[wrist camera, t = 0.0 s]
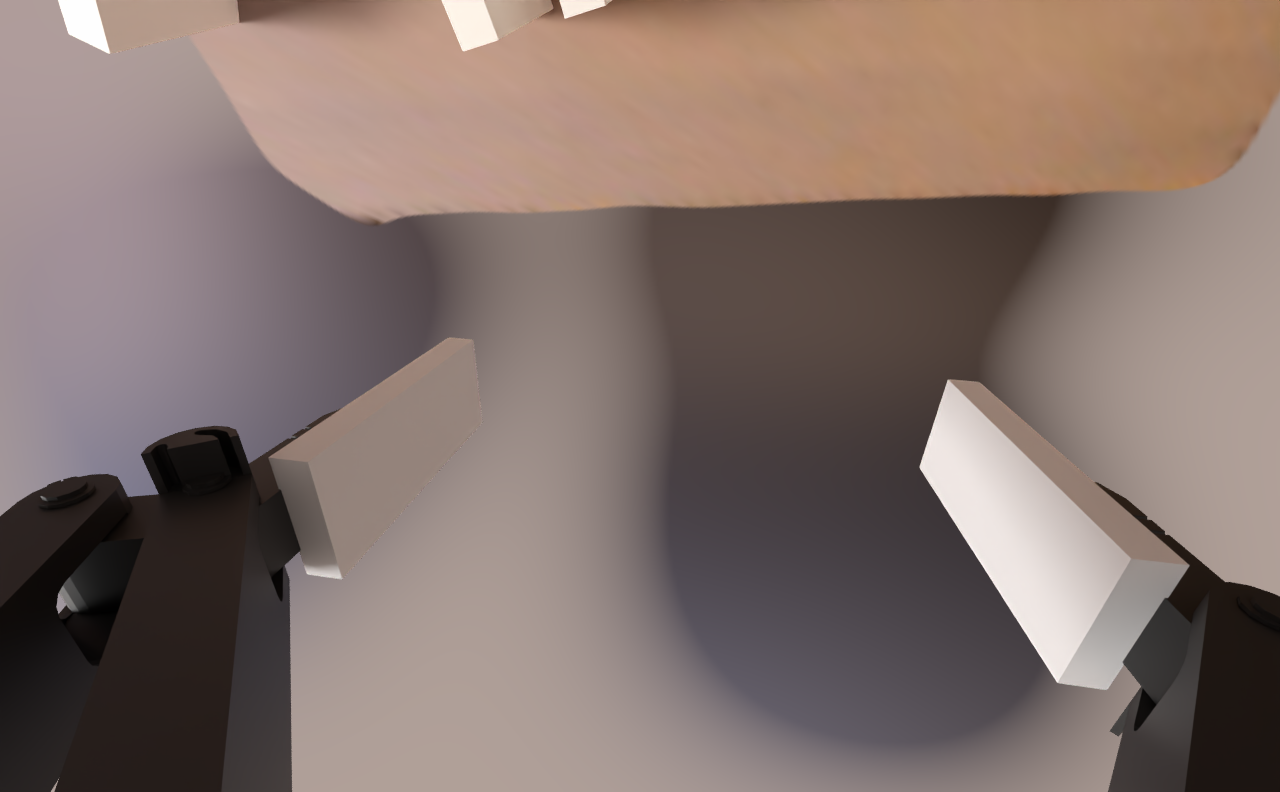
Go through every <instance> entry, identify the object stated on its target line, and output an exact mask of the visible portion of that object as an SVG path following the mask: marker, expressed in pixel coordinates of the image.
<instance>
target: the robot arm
mask: <svg viewBox="0 0 1280 792" xmlns="http://www.w3.org/2000/svg"><path fill="white" fill-rule="evenodd" d="M482 423H483V422H482V413H481V404H480V395H479V386H478V377H477V368H476V359H475V350H474V341H473V340H471V339H459V338H447V339H446V340H444V341H443V342H441V343H440V344H438V345H437V346H435V347H434V348H432V349H431V350H429V351H428V352H426V353H425V354H423V355H422V356H420V357H419V358H417V359H416V360H414V361H413V362H411V363H410V364H408V365H407V366H405V367H404V368H402V369H401V370H399V371H398V372H396V373H395V374H393V375H392V376H390V377H389V378H387V379H386V380H384V381H383V382H381V383H380V384H378V385H377V386H375V387H374V388H372V389H371V390H369V391H368V392H366V393H365V394H363V395H362V396H360V397H359V398H357V399H355V400H354V401H353V402H351V403H350V404H348V405H346V406H345V407H344V408H342V409H339V410H336V411H334V412H331V413H329V414H326V415H324V416H322V417H320V418H319V419H317V420H316V421H314V422H312V423H311V424H309V425H308V426H306V428H305V429H302V430H300V431H299V432H297V433H296V434H294V435H293V436H291V439H286V440H285V441H283V442H282V443H280V444H279V445H277V446H276V447H274V448H273V449H271V450H270V451H268V452H266V453H265V454H263V455H262V456H260V457H259V458H257V459H256V460H254V461H253V462H251V463H250V464H249V463H248V461H247V458H246V455H245V452H244V450H243V447H242V444H241V441H240V438H239V435H238V433H237V431H236V430H235V429H232V428H230V427H223V426H211V427H202V428H195V429H191V430H186V431H182V432H178V433H176V434H173V435H170V436H168V437H165V438H163V439H160V440H158V441H157V442H155V443H153V444H152V445H150V446H148V447H147V448H146V449H145V450H144V451H143V452H142V454H141V456H142V458H143V460H144V463H145V465H146V467H147V469H148V471H149V473H150V476H151V478H152V480H153V482H154V484H155V486H156V489H157V491H158V493H159V494H158V495H146V496H134V497H128V496H127V494H126V492H125V490H124V488H123V486H122V484H121V482H120V480H119V479H118V477H116V476H113V475H109V474H96V475H87V476H82V477H71V478H67V479H64V481H62V482H61V480H60V481H57V482H54V483H51V484H49V485H47V487H45V488H42V489H40V490H38V491H36V492H33V493H31V494H30V495H28V496H27V497H25V498H23V499H22V500H20V501H19V502H17V503H16V504H15V505H14V506H12V507H11V508H10V509H9V510H7V511H6V512H5V513H4V514H3V515H1V516H0V792H51V790H52V788H53V787H54V785H55V784H56V782H57V781H58V783H57V786H56V789H55V792H292V765H291V764H292V762H291V684H290V683H291V679H290V678H291V674H290V587H289V576H288V574H287V571H286V568H285V564H286V563H287V562H289V561H290V560H291V559H292V558H293V557H294V556H295V555H296V554H297V553H298V552H300V555H301V557H302V561H303V563H304V566H305V570H306V572H307V574H308V575H315V576H322V577H330V578H336V579H343V578H344V577H345V576H346V575H347V574H348V573H349V571H350V570H351V569H352V568H353V567H354V566H355V565H356V563H357V562H358V561H359V560H360V559H361V558H362V557H363V556H364V555H365V554H366V552H367V551H368V550H369V549H370V548H371V547H372V546H373V545H374V543H375V542H376V541H377V540H378V539H379V538H380V537H381V536H382V535H383V533H384V532H385V531H386V530H387V529H388V528H389V526H390V525H391V524H392V523H393V522H394V521H395V520H396V519H397V518H398V517H399V516H400V514H401V513H402V512H403V511H404V510H405V509H406V508H407V507H408V505H409V504H410V503H411V502H412V501H413V500H414V499H415V498H416V496H417V495H418V494H419V493H420V492H421V491H422V490H423V489H424V487H425V486H426V485H427V484H428V483H429V482H430V481H431V480H432V478H433V477H434V476H435V475H436V474H437V473H438V472H439V471H440V469H441V468H442V467H443V466H444V465H445V464H446V463H447V462H448V461H449V460H450V458H451V457H452V456H453V455H454V454H455V453H456V452H457V451H458V449H459V448H460V447H461V446H462V445H463V444H464V443H465V442H466V441H467V439H468V438H469V437H470V436H471V435H472V434H473V433H474V432H475V431H476V429H477V428H478V427H479V426H480V425H481V424H482ZM920 469H921V471H922V472H923V474H924V475H925V477H926V478H927V480H928V481H929V483H930V485H931V486H932V488H933V489H934V491H935V492H936V494H937V495H938V497H939V499H940V500H941V502H942V503H943V505H944V506H945V508H946V509H947V511H948V513H949V514H950V516H951V517H952V519H953V520H954V522H955V524H956V525H957V527H958V528H959V530H960V531H961V533H962V534H963V536H964V538H965V539H966V541H967V542H968V544H969V545H970V547H971V549H972V550H973V552H974V553H975V555H976V556H977V558H978V560H979V561H980V563H981V564H982V566H983V567H984V569H985V571H986V572H987V574H988V575H989V577H990V578H991V580H992V581H993V583H994V585H995V586H996V588H997V589H998V591H999V592H1000V594H1001V595H1002V597H1003V599H1004V600H1005V601H1006V603H1007V605H1008V606H1009V608H1010V609H1011V611H1012V613H1013V614H1014V616H1015V617H1016V619H1017V620H1018V622H1019V624H1020V625H1021V627H1022V628H1023V630H1024V631H1025V633H1026V634H1027V636H1028V638H1029V639H1030V641H1031V642H1032V644H1033V645H1034V647H1035V649H1036V650H1037V652H1038V653H1039V655H1040V656H1041V658H1042V659H1043V661H1044V663H1045V664H1046V666H1047V667H1048V669H1049V670H1050V672H1051V673H1052V675H1053V677H1054V678H1055V680H1056V681H1057V683H1062V684H1069V685H1076V686H1083V687H1089V688H1096V689H1104V690H1107V689H1108V688H1109V686H1110V685H1111V683H1112V682H1113V680H1114V679H1115V677H1116V676H1117V674H1118V673H1119V671H1120V670H1121V668H1122V667H1123V665H1125V666H1126V667H1127V669H1128V670H1129V671H1130V672H1131V674H1132V675H1133V676H1134V677H1135V679H1136V680H1137V681H1138V682H1139V684H1140V685H1141V688H1140V689H1139V690H1138V692H1137V693H1136V695H1135V696H1134V698H1133V699H1132V700H1131V702H1130V703H1129V705H1128V706H1127V708H1126V709H1125V710H1124V712H1123V713H1122V715H1121V716H1120V717H1119V719H1118V720H1117V722H1116V723H1115V724H1114V726H1113V727H1112V729H1111V730H1110V731H1111V732H1112V733H1114V734H1115V735H1117V736H1119V735H1120V734H1121V733H1122V732H1123V734H1122V738H1121V742H1120V746H1119V750H1118V754H1117V758H1116V762H1115V766H1114V770H1113V774H1112V779H1111V783H1110V786H1109V790H1108V792H1280V596H1278V595H1275V594H1273V593H1270V592H1267V591H1264V590H1261V589H1258V588H1255V587H1252V586H1248V585H1243V584H1237V583H1232V582H1224V581H1223V580H1222V579H1221V578H1220V577H1218V576H1217V575H1216V574H1215V573H1214V572H1212V571H1211V570H1210V569H1209V568H1208V567H1207V566H1205V565H1204V564H1203V563H1202V562H1201V561H1199V560H1198V559H1197V558H1196V557H1195V556H1194V555H1192V554H1191V553H1190V552H1189V551H1188V550H1186V549H1185V548H1184V547H1183V546H1182V545H1180V544H1179V543H1178V542H1177V541H1176V540H1174V539H1173V538H1172V537H1171V536H1170V535H1165V531H1164V530H1162V529H1161V528H1160V527H1159V526H1158V525H1157V524H1155V523H1154V522H1153V521H1152V520H1147V516H1146V515H1145V514H1144V513H1142V512H1141V511H1140V510H1139V509H1138V508H1136V507H1135V506H1134V505H1133V504H1132V503H1131V502H1129V501H1128V500H1127V499H1126V498H1124V497H1122V496H1120V495H1119V494H1117V493H1115V492H1113V491H1111V490H1109V489H1108V488H1106V487H1104V486H1103V485H1101V484H1099V483H1097V482H1093V481H1092V480H1091V479H1090V478H1089V477H1087V476H1086V475H1085V474H1084V473H1083V472H1082V471H1081V470H1079V469H1078V468H1077V467H1076V466H1075V465H1074V464H1073V463H1071V462H1070V461H1069V460H1068V459H1067V458H1066V457H1065V456H1063V455H1062V454H1061V453H1060V452H1059V451H1058V450H1057V449H1055V448H1054V447H1053V446H1052V445H1051V444H1050V443H1048V442H1047V441H1046V440H1045V439H1044V438H1043V437H1042V436H1040V435H1039V434H1038V433H1037V432H1036V431H1035V430H1034V429H1032V428H1031V427H1030V426H1029V425H1028V424H1027V423H1025V422H1024V421H1023V420H1022V419H1021V418H1020V417H1019V416H1017V415H1016V414H1015V413H1014V412H1013V411H1012V410H1010V409H1009V408H1008V407H1007V406H1006V405H1005V404H1004V403H1003V402H1001V401H1000V400H999V399H998V398H997V397H996V396H995V395H993V394H992V393H991V392H990V391H989V390H988V389H986V388H985V387H984V386H983V385H982V384H981V383H979V382H972V381H960V380H948V381H947V384H946V388H945V391H944V394H943V397H942V400H941V403H940V406H939V409H938V412H937V416H936V419H935V421H934V425H933V428H932V431H931V434H930V437H929V440H928V443H927V446H926V449H925V452H924V455H923V459H922V461H921V465H920ZM58 593H59V594H60V595H61V597H62V598H63V600H64V602H65V603H66V606H65V607H64V609H63V610H62V611H61V612H60V613H59V614H58V611H57V608H56V605H57V598H58ZM58 779H59V780H58Z"/></svg>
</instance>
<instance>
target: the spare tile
mask: <svg viewBox="0 0 1280 792" xmlns="http://www.w3.org/2000/svg"><path fill="white" fill-rule="evenodd" d="M58 1H59V5H60V8H61V11H62V14H63V17H64V20H65V24H66V27H67V30H68V33H69V34H70V35H72V36H74V37H76V38H78V39H80V40H82V41H84V42H86V43H88V44H91V45H92V46H95V47H97V48H99V49H101V50H103V51H105V52H107V53H109V54H112V53H116V52H120V51H125V50H129V49H133V48H137V47H141V46H145V45H150V44H154V43H158V42H162V41H166V40H170V39H174V38H179V37H183V36H187V35H191V34H195V33H199V32H204V31H208V30H212V29H216V28H220V27H224V26H229V25H233V24H237V23H240V21H239V12H238V2H237V0H58Z"/></svg>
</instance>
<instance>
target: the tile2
mask: <svg viewBox="0 0 1280 792" xmlns="http://www.w3.org/2000/svg"><path fill="white" fill-rule="evenodd" d="M442 2H443V5H444V7H445V10H446V12H447V14H448V17H449V19H450V22H451V24H452V26H453V29H454V31H455V34H456V36H457V38H458V41H459V43H460V46H461V48H462V50H463V51H466V50H469V49H472V48H476V47H479V46H482V45H485V44H488V43H491V42H494V41H497V40H500V39H501V38H503V37H505V36H507V35H508V34H510V33H512V32H514V31H515V30H517V29H519V28H521V27H522V26H524V25H526V24H528V23H530V22H531V21H533V20H535V19H537V18H538V17H540V16H542V15H544V14H545V13H547V12H549V11H551V10H552V9H554V8H553V5H552V2H551V0H442Z"/></svg>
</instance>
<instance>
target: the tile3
mask: <svg viewBox="0 0 1280 792" xmlns="http://www.w3.org/2000/svg"><path fill="white" fill-rule="evenodd" d="M611 1H612V0H560V4H561V7H562V11H563V14H564V18H569V17H572V16H575V15H578V14H581V13H584V12H587V11H590V10H593V9H596V8H600V7H603V6H605V5H607V4H608V3H609V2H611Z"/></svg>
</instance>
